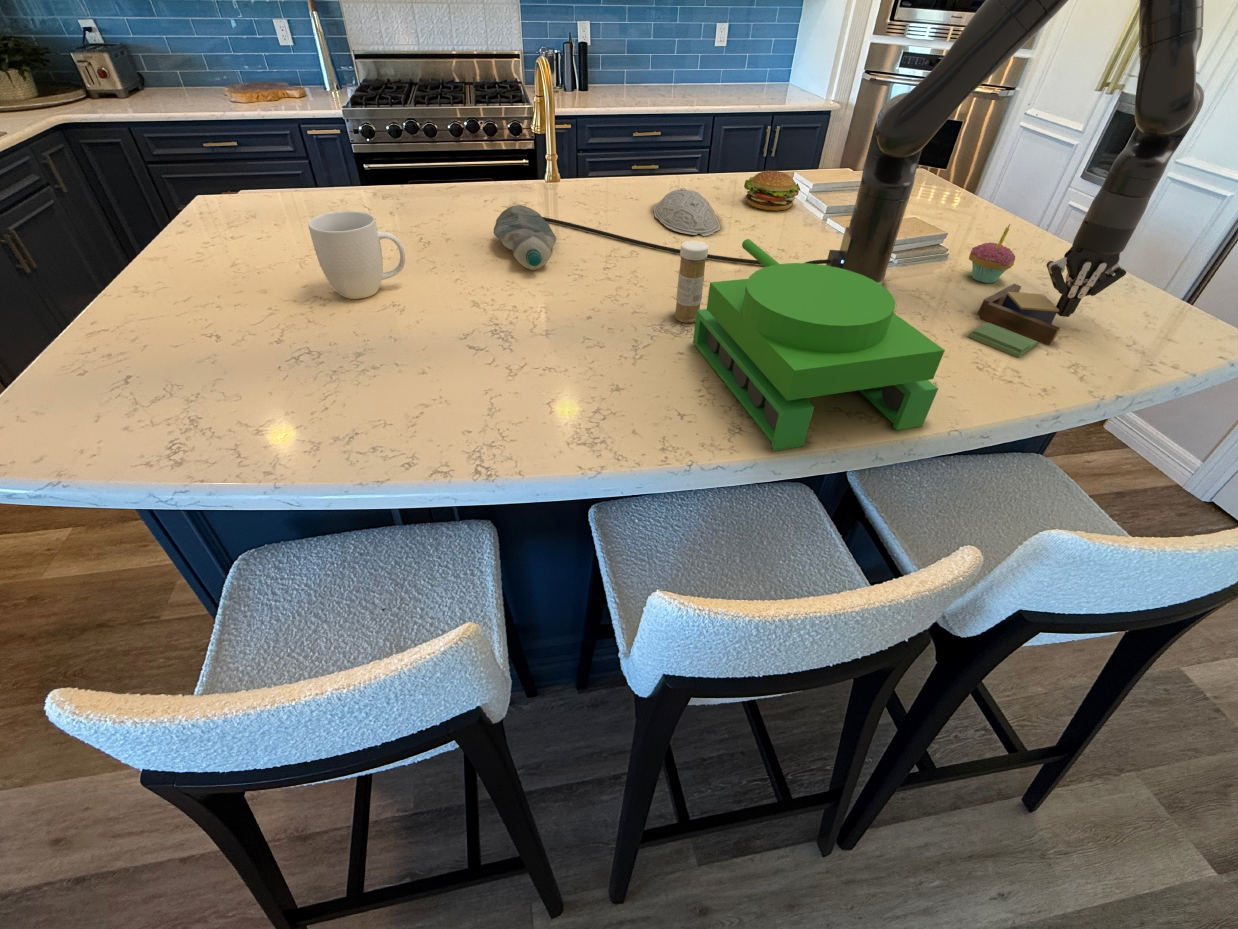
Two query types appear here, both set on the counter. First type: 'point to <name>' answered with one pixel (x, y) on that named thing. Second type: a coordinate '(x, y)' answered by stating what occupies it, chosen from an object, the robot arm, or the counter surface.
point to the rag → (1002, 339)
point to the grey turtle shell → (687, 213)
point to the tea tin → (1031, 305)
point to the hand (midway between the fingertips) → (1062, 314)
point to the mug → (352, 252)
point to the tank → (813, 346)
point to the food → (771, 190)
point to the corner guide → (1016, 318)
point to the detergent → (525, 235)
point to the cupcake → (991, 260)
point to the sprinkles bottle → (690, 280)
